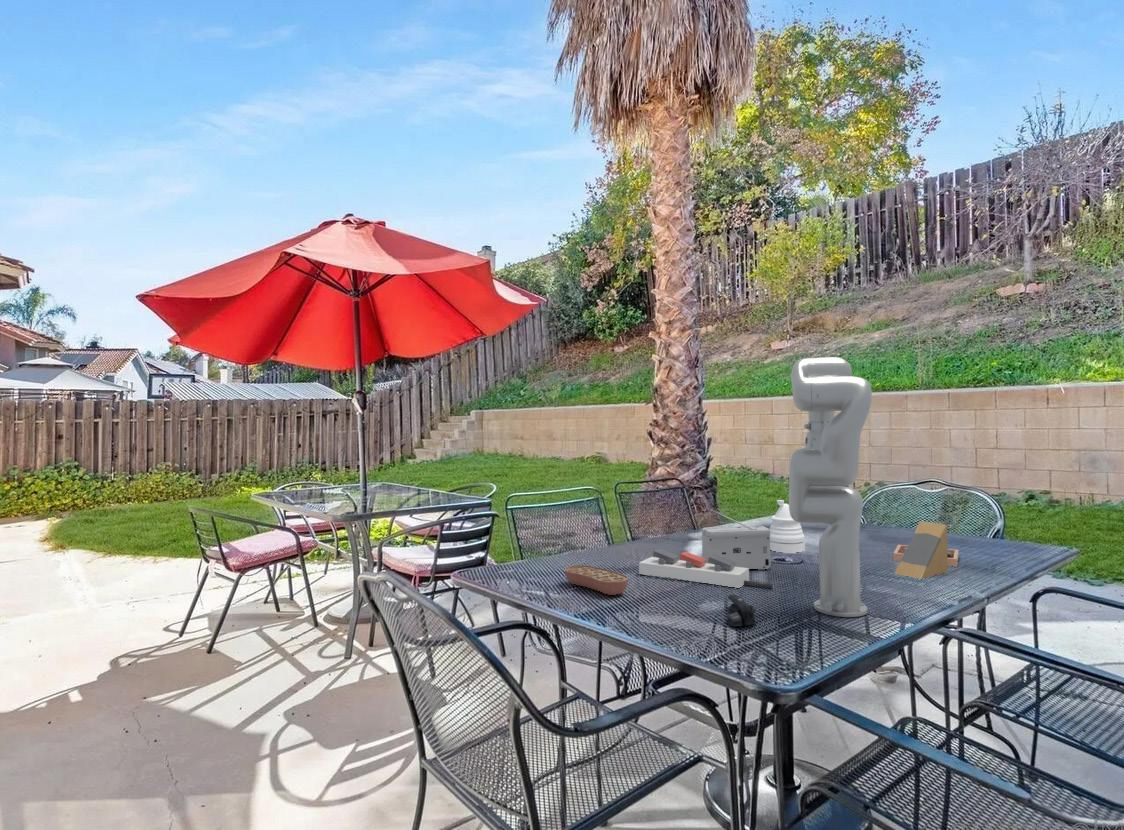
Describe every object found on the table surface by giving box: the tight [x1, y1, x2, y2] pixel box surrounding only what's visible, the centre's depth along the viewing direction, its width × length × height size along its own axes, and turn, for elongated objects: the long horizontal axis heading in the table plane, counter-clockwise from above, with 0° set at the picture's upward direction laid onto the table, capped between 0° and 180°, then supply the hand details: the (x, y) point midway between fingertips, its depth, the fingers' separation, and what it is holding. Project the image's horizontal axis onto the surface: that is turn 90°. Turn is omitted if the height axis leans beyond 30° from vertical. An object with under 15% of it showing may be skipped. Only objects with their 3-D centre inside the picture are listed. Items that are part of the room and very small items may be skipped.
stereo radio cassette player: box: [701, 508, 771, 570], centre depth 208 cm, size 21×8×20 cm, turn 92°
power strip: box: [638, 556, 774, 589], centre depth 195 cm, size 9×40×6 cm, turn 57°
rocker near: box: [708, 554, 735, 571], centre depth 192 cm, size 4×7×2 cm, turn 57°
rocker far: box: [652, 548, 680, 564], centre depth 202 cm, size 4×7×2 cm, turn 57°
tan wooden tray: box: [892, 544, 959, 568], centre depth 214 cm, size 15×18×2 cm
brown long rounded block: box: [564, 564, 629, 596], centre depth 187 cm, size 23×10×5 cm, turn 40°
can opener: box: [726, 593, 757, 627], centre depth 160 cm, size 18×7×6 cm, turn 174°
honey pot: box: [769, 499, 806, 554], centre depth 233 cm, size 13×13×18 cm
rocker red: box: [679, 551, 707, 567], centre depth 197 cm, size 4×7×2 cm, turn 57°
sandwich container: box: [894, 520, 948, 579], centre depth 197 cm, size 9×15×15 cm, turn 121°
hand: (822, 483), depth 198 cm, fingers open, 9 cm apart
